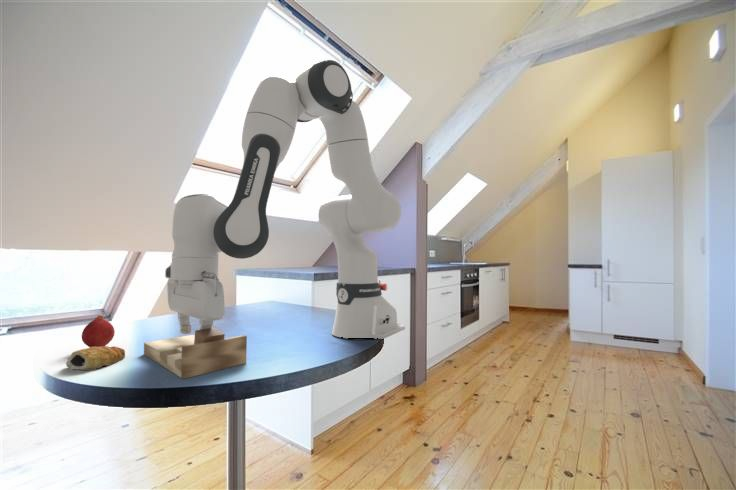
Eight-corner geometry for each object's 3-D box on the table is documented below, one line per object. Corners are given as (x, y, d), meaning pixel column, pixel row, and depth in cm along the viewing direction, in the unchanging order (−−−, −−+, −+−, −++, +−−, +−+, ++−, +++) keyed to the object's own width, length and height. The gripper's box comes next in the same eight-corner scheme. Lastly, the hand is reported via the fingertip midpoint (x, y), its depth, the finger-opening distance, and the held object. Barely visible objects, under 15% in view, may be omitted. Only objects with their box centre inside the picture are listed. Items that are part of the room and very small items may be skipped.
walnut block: (213, 346, 70) (215, 327, 70) (222, 353, 68) (224, 334, 67) (193, 350, 67) (195, 330, 67) (201, 358, 65) (203, 337, 64)
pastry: (109, 356, 75) (110, 338, 75) (134, 358, 73) (135, 340, 73) (61, 370, 66) (62, 350, 66) (89, 373, 64) (90, 353, 64)
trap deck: (200, 343, 84) (200, 321, 85) (246, 363, 70) (246, 335, 70) (143, 354, 75) (144, 329, 76) (183, 378, 61) (183, 347, 61)
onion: (85, 355, 74) (86, 318, 74) (78, 351, 78) (79, 315, 78) (117, 349, 79) (118, 314, 79) (109, 345, 82) (109, 311, 82)
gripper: (233, 272, 68) (232, 342, 68) (191, 268, 82) (190, 327, 82) (201, 273, 64) (199, 349, 63) (162, 269, 77) (160, 331, 77)
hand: (194, 336), depth 72 cm, fingers open, 8 cm apart
